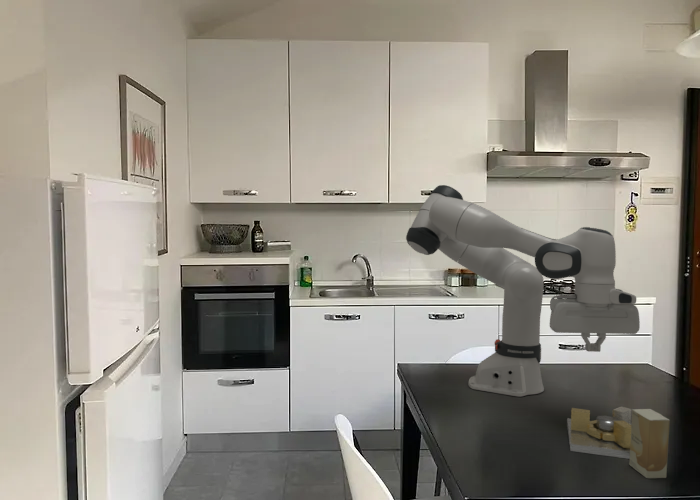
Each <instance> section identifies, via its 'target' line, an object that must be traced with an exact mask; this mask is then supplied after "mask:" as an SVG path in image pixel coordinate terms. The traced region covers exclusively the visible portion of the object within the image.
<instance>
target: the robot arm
mask: <svg viewBox="0 0 700 500" xmlns="http://www.w3.org/2000/svg"><path fill="white" fill-rule="evenodd" d="M405 240H406V243H407V244H408V246H410V247H411V249H412V250H414V251H415V252H417V253H419V254H422V255H426V256H430V255H434V253H436V252H437V251H438V250H439V252H441V253H442V254H443V255H445V256H446V257H448V258H449V259H451V260H452V261H454V262H455V263H457V264H459V265H460V266H462V267H463V268H465V269H467V270H469V271H471V272H472V273H474V274H476V275H477V276H479V277H481V278H483V279H485V280H486V281H489V282H491V283H493V284H494V285H496V286H498V287H500V288H502V289H503V290H504V292H503V305H502V306H503V309H502V321H501V322H502V324H501V326H502V327H501V339H495V341H494V353H492V354H491V355H489V356H487V357H486V358H484V359H483V360H481V361H480V363H479V364H478V366H477V367H476V372H475V375H472V376H471V377H469V380H468V384H467V385H468V387H469V388H470V389H472V390H475V391H476V390H477V391H483V392H488V393H495V394H500V395H505V396H513V397H519V398H520V397H524V396H529V395H537V394H541V393H543V392H544V391H545V388H544V385H543V384H544V383H543V379H542V373H541V365H540V363H541V361H542V344H541V343H540V335H541V334H540V333H541V332H540V331H541V329H540V328H541V314H542V306H543V296H544V277H545V278H548V279H551V280H561V279H566V278H574V293H573V294H571V293H569V294H563V293H562V294H561V293H558V294H556V295H554V296H553V297H551V299H550V301H549V308H550V311H551V312H550V316H549V317H550V318H549V328H550V330H552V332H554V333H556V334H557V333H558V334H559V333H560V334H561V333H562V334H564V333H566V334H571V333H572V334H580V337H581V338H582V340H583V341H584V343H585V351H587V352H597V353H598V352H599V353H600V352H601V345H602V344H603V343H604V341H605V340H606V338H607V334H610V335H611V334H612V335H613V334H616V335H618V334H619V335H636V334H637V333H638V332H639V330H640V324H641V323H640V313H639V309H638V307H637V306H636V305H635V304H636V303H637V296H636V295H634V294H632V293H630V292H627V291H623V290H622V289H619V288H616V280H615V277H614V273H615V272H614V271H615V268H616V264H617V263H616V261H617V259H616V258H617V257H616V256H617V255H616V254H617V253H616V243H615V237H614V235H613V234H612V233H611V232H609V231H608V230H604V229H601V228H596V227H589V226H583V227H580V228H579V229H578V230H576V231H575V232H573V233H571V234H568V235H566V236H565V237H562V238H561V237H560V238H559V239H558V238H557V239H556V238H555V239H554V238H551V237H547V236H545V235H542V234H539V233H537V232H534V231H532V230H528V229H525V228H523V227H520V226H518V225H516V224H514V223H512V222H510V221H508V220H507V219H505V218H503V217H501V216H500V215H498V214H496V213H494V212H493V211H491V210H489V209H486V208H485V207H483V206H482V205H478V204H476V203H474V202H471V201H468V200H465V199H464V196H463V195H462V194H461V193H460V192H459V190H457V189H455V188H453V187H452V186H450V185H445V184H443V185H442V184H440V185H437V186H436V187H435V188H434V189H433V190H432V191H431V192H430V195H429V196H428V197H427V199H426V200H425V201H424V203H423V204H422V205H421V207H420V208H419V209H418V213H417V214H416V216H415V218H414V219H413V222H412V224H411V226H410V227H409V228H408V230H407V233H406V236H405ZM507 249H509V250H514V251H517V252H519V253H522V254H525V255H527V256H530V257H532V258H534V265H533V264H531V263H530V262H528V261H526V260H524V259H523V258H522V257H520V256H517V255H516V254H514V253H513V252H510V251H509V250H507ZM591 334H596V336H597V339H596V341H595V342H590V340H589V338H590V337H591Z"/></svg>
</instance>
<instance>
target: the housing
mask: <svg viewBox="0 0 700 500" xmlns="http://www.w3.org/2000/svg"><path fill="white" fill-rule="evenodd" d="M596 420H597V426H596V429H598V430H601V431H603V432H610V433H613V431H614V421H620V420H619V419H617V418H615V417H613V416H610V415H598V416H597V417H596ZM566 427H567V428H566V429H567V434H568V441H569V442H568V443H569V449H570V452H577V453H583V454H589V455H590V454H591V455H599V456H606V457H611V458H612V457H614V458H620V459H628V460H630V448H623V447H622V446H620V445H619V444H618V443H616V442H615V441H608V440H602V439H598V438H596V437H594V436H591V435H589V434H588V433H587V432H584V431H577V430H571V417H570V418H569V417H567V419H566Z"/></svg>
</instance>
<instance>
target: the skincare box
mask: <svg viewBox="0 0 700 500" xmlns="http://www.w3.org/2000/svg"><path fill="white" fill-rule="evenodd" d="M670 421H671V420H670V419H669V418H667V417H666V416H664V415H662V414H661V413H660V412H657V411H655V410H653V409H652V408H635V409H633V408H631V425H632V426H631V445H630V459H629V463H628V464H629V465H630V467H631V468H633V469H634V470H635V471H636V472H638V473H639V474H641V475H642V476H643V477H644V478H646V479H666V478H667V471H668V470H667V468H668V455H669V454H668V453H669V440H670V439H669V435H670Z"/></svg>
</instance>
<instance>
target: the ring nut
mask: <svg viewBox="0 0 700 500" xmlns="http://www.w3.org/2000/svg"><path fill="white" fill-rule="evenodd" d="M570 412H571V414H570V419H571V430H577V431H584V432H587V433H588V434H589V435H591V436H594V437H596V438H598V439H602V440H608V441H615V442H616V443H618V444H619V445H620V446H622V447H623V448H630V445H631V426H632V408H628V407H625V406H619V407H617V408H614V409H612V417H615V418H617V419H619V420H620V421H614V431H613V433H610V432H603V431H601V430H598V429H596V426H597V419H595V420H590V419H591V418H590V416H591V410H589V409H584V408H575V407H571V410H570Z"/></svg>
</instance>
